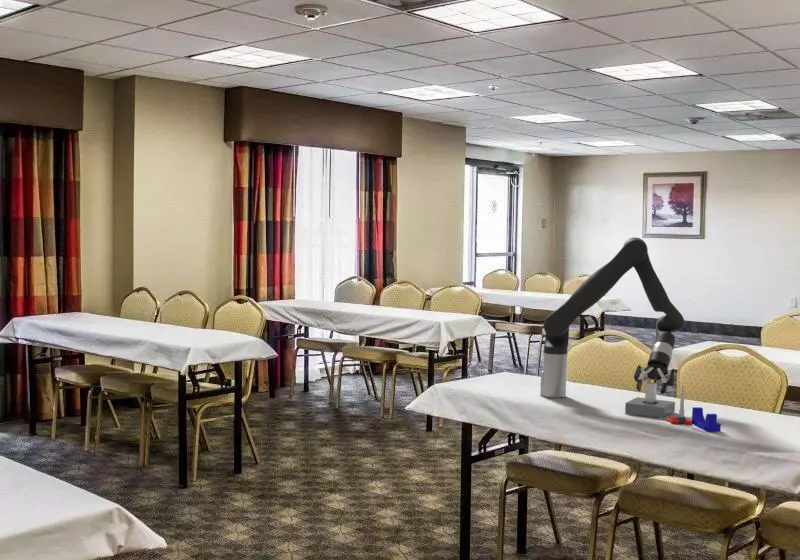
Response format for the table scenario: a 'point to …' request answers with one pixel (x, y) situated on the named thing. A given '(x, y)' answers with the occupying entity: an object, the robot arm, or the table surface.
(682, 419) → the red grey spiked stand
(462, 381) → the table surface
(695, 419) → the cable clip
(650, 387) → the light grey tall block
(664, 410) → the gray square socket block
